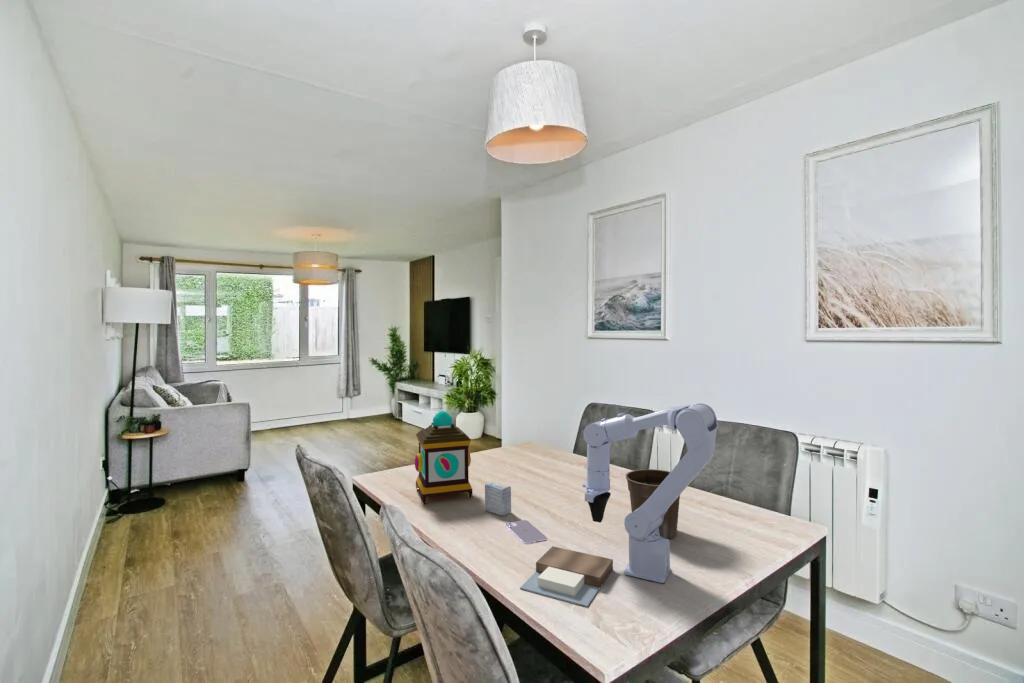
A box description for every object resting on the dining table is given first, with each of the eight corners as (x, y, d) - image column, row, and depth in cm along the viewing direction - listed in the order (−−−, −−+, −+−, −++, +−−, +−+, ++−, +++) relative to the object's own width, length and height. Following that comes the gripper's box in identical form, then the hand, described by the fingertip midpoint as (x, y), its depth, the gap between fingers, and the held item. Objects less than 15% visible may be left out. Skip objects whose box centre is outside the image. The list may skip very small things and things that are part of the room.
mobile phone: (524, 542, 136) (503, 522, 149) (524, 546, 136) (503, 525, 149) (549, 537, 139) (526, 518, 152) (549, 541, 139) (526, 521, 152)
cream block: (584, 583, 114) (584, 575, 114) (574, 596, 109) (574, 587, 109) (548, 574, 118) (548, 566, 118) (537, 586, 113) (537, 577, 113)
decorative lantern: (464, 483, 190) (463, 405, 189) (477, 499, 171) (476, 413, 171) (411, 488, 184) (410, 408, 183) (419, 506, 165) (417, 417, 164)
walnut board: (612, 569, 121) (612, 559, 121) (599, 588, 112) (599, 577, 112) (552, 555, 129) (552, 546, 129) (536, 572, 120) (536, 562, 120)
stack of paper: (511, 512, 159) (511, 486, 159) (502, 516, 156) (501, 489, 156) (494, 507, 164) (494, 481, 164) (484, 510, 161) (484, 484, 161)
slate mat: (599, 589, 112) (599, 587, 112) (587, 607, 105) (587, 605, 105) (535, 573, 120) (535, 571, 120) (520, 588, 113) (520, 587, 113)
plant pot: (614, 526, 148) (614, 472, 148) (657, 517, 154) (657, 466, 154) (649, 548, 133) (649, 488, 133) (696, 537, 139) (696, 480, 139)
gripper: (592, 459, 135) (591, 508, 136) (573, 473, 123) (572, 528, 123) (617, 463, 132) (617, 513, 133) (600, 478, 119) (600, 533, 120)
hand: (597, 521), depth 128 cm, fingers closed
